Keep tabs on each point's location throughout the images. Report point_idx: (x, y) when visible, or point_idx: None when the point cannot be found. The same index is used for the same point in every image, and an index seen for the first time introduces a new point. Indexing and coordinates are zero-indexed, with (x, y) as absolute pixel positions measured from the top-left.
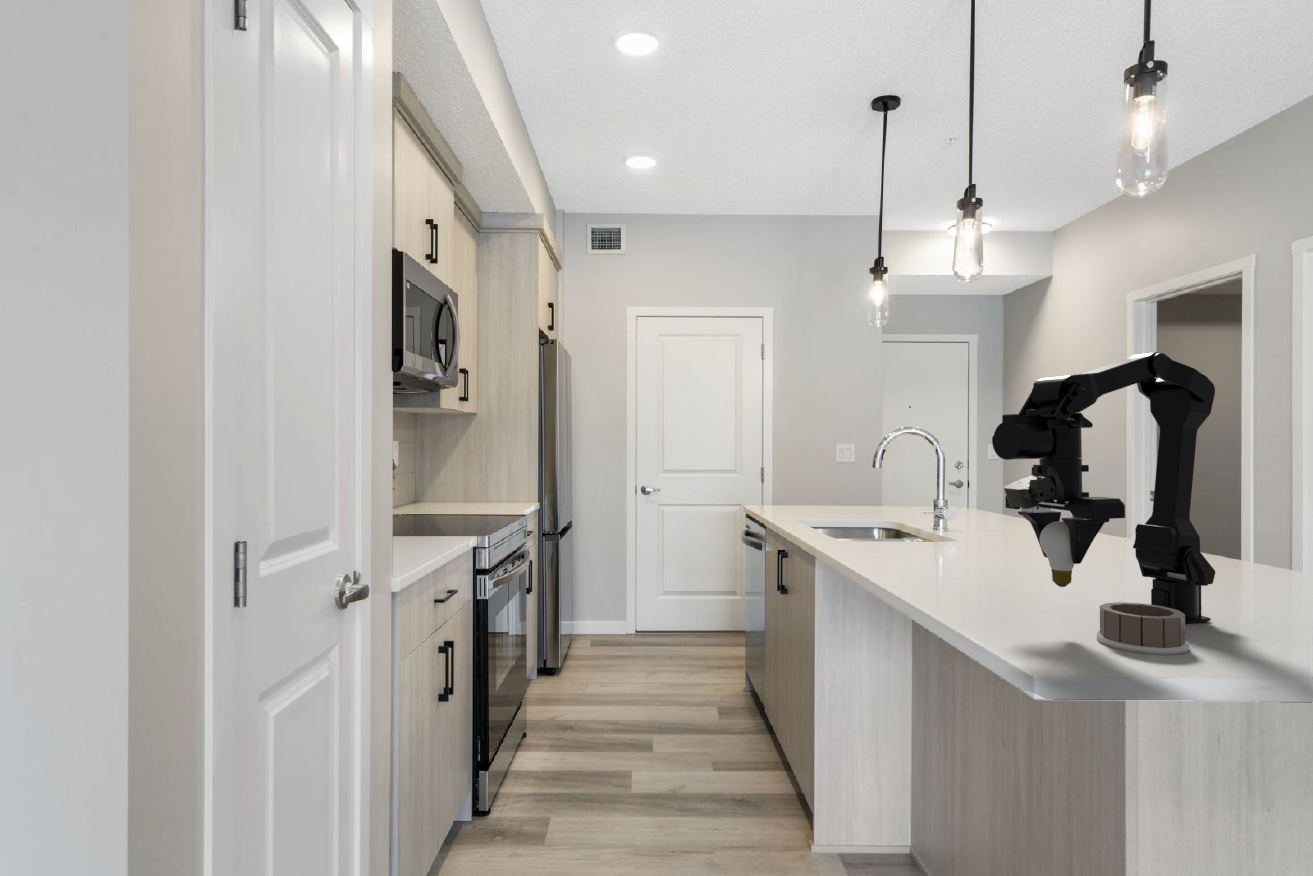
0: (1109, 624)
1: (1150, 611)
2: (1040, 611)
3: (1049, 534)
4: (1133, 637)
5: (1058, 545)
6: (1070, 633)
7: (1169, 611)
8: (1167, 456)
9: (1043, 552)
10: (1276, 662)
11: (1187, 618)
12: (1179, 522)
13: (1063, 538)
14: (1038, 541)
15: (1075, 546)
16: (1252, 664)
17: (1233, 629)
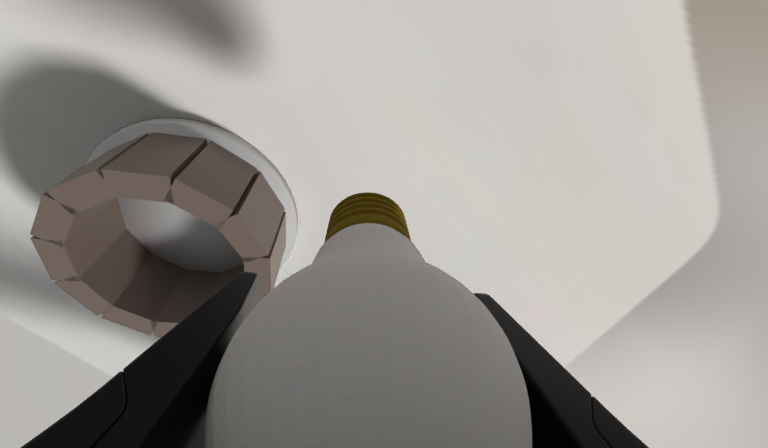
0: (169, 155)
1: None
2: (532, 251)
3: (346, 377)
4: (107, 153)
5: (272, 307)
6: (335, 140)
7: (155, 318)
8: None
9: (495, 309)
10: (45, 311)
11: None
12: None
13: (228, 385)
14: (555, 360)
15: (149, 347)
16: (23, 270)
17: None
